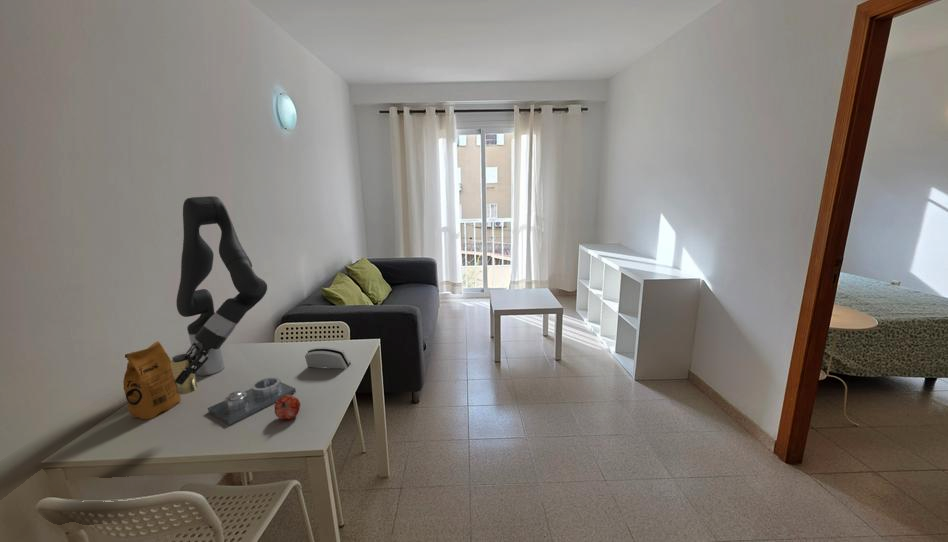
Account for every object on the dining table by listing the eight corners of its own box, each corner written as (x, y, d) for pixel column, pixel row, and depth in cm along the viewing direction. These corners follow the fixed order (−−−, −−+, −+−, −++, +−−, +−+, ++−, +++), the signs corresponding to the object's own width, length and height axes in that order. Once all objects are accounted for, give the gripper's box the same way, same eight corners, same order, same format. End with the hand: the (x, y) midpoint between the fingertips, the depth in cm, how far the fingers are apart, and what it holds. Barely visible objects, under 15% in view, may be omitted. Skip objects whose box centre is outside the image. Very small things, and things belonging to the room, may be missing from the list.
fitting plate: (208, 412, 126) (205, 397, 125) (273, 382, 144) (271, 369, 143) (229, 425, 119) (226, 409, 118) (295, 392, 137) (293, 377, 135)
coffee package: (125, 418, 125) (108, 355, 120) (163, 398, 137) (149, 339, 132) (148, 422, 122) (132, 357, 118) (186, 400, 134) (172, 341, 129)
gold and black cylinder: (174, 391, 117) (166, 358, 114) (193, 384, 121) (185, 351, 118) (181, 396, 114) (173, 361, 111) (200, 388, 118) (193, 354, 115)
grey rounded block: (352, 363, 157) (345, 345, 152) (347, 372, 153) (340, 353, 148) (314, 361, 160) (306, 344, 155) (308, 370, 156) (300, 352, 151)
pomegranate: (280, 419, 125) (263, 416, 116) (288, 395, 128) (272, 391, 119) (302, 422, 124) (287, 420, 115) (309, 398, 127) (294, 394, 118)
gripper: (201, 319, 123) (162, 367, 118) (208, 330, 113) (165, 383, 107) (223, 330, 128) (187, 376, 123) (232, 342, 117) (192, 393, 112)
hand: (177, 379), depth 115 cm, fingers closed on gold and black cylinder, 5 cm apart
